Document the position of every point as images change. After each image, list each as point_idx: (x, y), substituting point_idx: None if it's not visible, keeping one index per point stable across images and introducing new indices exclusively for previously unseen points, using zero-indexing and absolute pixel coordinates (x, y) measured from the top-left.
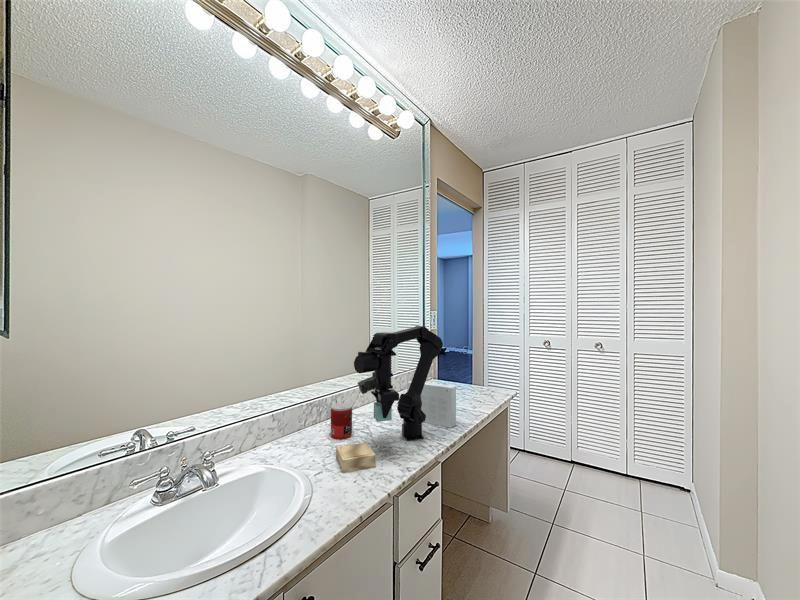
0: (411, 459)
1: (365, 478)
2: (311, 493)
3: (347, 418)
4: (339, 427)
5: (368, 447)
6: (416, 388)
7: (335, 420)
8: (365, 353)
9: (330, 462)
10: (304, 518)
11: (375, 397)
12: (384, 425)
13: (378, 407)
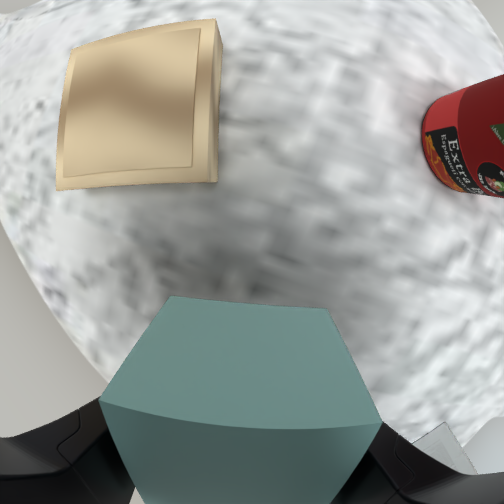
0: (110, 337)
1: (40, 138)
2: (54, 8)
3: (488, 146)
4: (455, 105)
5: (132, 174)
6: None
7: (485, 83)
8: None
9: None
10: (4, 24)
11: (449, 475)
12: (456, 351)
13: (111, 403)
